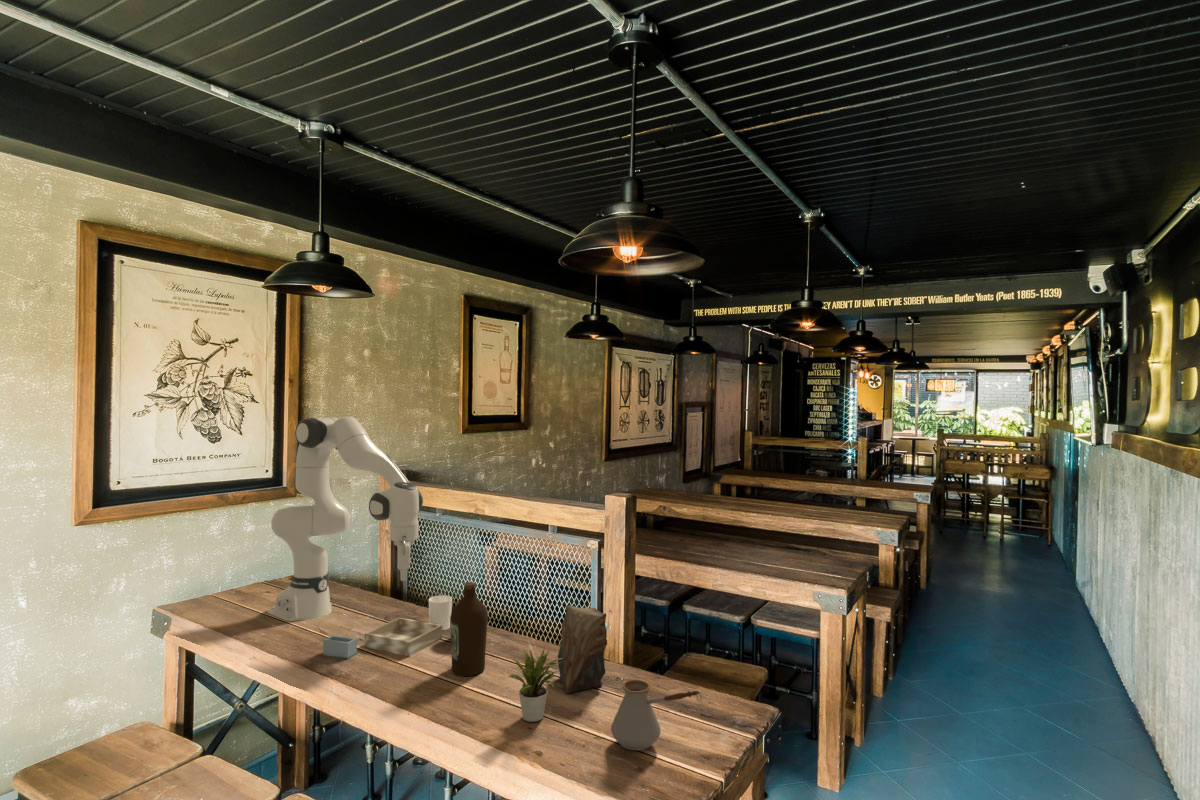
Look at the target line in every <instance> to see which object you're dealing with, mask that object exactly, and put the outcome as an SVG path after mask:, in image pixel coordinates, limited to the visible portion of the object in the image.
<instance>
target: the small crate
mask: <svg viewBox="0 0 1200 800" xmlns="http://www.w3.org/2000/svg"><path fill="white" fill-rule="evenodd" d="M322 644H323V645H322V656H327V657H333V658H339V659H345V660H349V659H350V658H352V657H354V656H356V655H357V654H358V638H355V637H349V636H348V637H347V636H341V635H334V634H332V635H330V636H328V637H326V638H324V639H323V641H322Z"/></svg>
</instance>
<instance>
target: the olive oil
mask: <svg viewBox="0 0 1200 800" xmlns="http://www.w3.org/2000/svg"><path fill="white" fill-rule="evenodd" d="M463 586H464V587H463V597H462V598H461V599H460V600H459V601H458V602H457V603H456V604H455V606H453V607H452V611H451V618H450V623H451V636H450V641H451V642H450V643H451V644H450V645H451V650H450V651H451V672H452V674H454V675H456V676H459V677H473V676H476V675H479V674H481V673H483V672H484V670H485V669H486V652H487V651H486V650H487V649H486V648H487V636H488V635H487V634H488V633H487V632H488V617H489V616H488V614H489V613H488V611H487V608H486V606H485V605H484V603H483V602H482V601H481V600H479V598H478V597H477V596H476V583H475V582H472V581H468V582H465V583H464V584H463Z"/></svg>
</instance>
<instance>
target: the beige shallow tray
mask: <svg viewBox="0 0 1200 800" xmlns="http://www.w3.org/2000/svg"><path fill="white" fill-rule="evenodd" d="M442 639H443V630H442V625H438V624H432V623H430V622H428V621H427V622H425V621H420V620H416V619H409V618H404V617H397V618H396V619H395V618H394V619H393V620H391V621H389V622H387V623H384V624H382V625H380V626H378V627H376V628H373V629H371V630H369V631H367V632H364V642H363V643H364V648H368V649H374V650H377V651H378V650H379V651H381V652H382V651H383V652H386V653H391V654H396V655H401V656H405V657H409V658H410V657H412V656H413V655H415V654H417V653H419V652H422V650H424V649H426V648H428V647H430V646H431V645H433V644H435V643H437V642H439V641H440V640H442Z"/></svg>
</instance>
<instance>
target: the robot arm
mask: <svg viewBox="0 0 1200 800" xmlns="http://www.w3.org/2000/svg"><path fill="white" fill-rule="evenodd" d="M294 435H295V439H296V441H297V443H298V447H297V452H296V460H295V488H296V491H297V492H298V493H299V494H301V495H304V496H306V497H309V498H311V499H312V500H313V501H314V504H312V505H298V506H297V505H295V506H289V507H284V508H281V509H278V510H277V511H276V512H275V513H274V514H273V516H272V518H271V522H270V523H271V526H270V527H271V529H272V532H273V533H274V535H275V536H276V537H278V538H280V539H281V540H282V541H284V542H285V543H286V544H287V545H288V547H289V548H290V551H291V553H292V559H293V575H292V576H288V577H287V578H288V579H287V581H290V583H289V585H288V587H286V588H285V589H284V590H283V591H281V592H280V593H278V594H277V595H276V597H275V601H274V606H273V607H272V608H269V609H268V610H267V614H269V615H271V616H274V617H277V618H279V619H282V620H284V621H287V622H295V621H306V620H307V619H308V620H314V619H320V618H323V617H326V616H328V615H329V613H330V614H331V613H332V612H331V611H333V610H332V603H331V598H330V597H331V596H330V587H329V582H330V573H329V571H328V569H329V567H328V563H329V562H328V561H329V560H328V559H329V556H328V555H329V553H328V552H327V550H326V549H325V548H324V547H322V546H321V545H317V544H315V543H314V542H313V543H312V542H311V541H310V537H319V536H321V537H323V536H332V535H335V534H340V533H343V532H345V531H346V530H347V529H348V528H349V525H350V523H351V514H350V512H349V509H348V508H347V507H346V506H345V505H343V504H341V502H339V501H338V499H336V497H335V496H334V494H333V492H332V490H331V486H330V485H331V483H330V454H331V451H333V450H334V449H335V450H337V451H338V453H339V455H340V457H341V459H342V461H343V462H344V463H345V465H347V466H348V467H350V468H351V469H354V470H358V471H365V472H370V473H373V474H377V475H379V476H381V477H382V478H383V479H384V480H385V481H386V482H387V484H388V485H389V488H387V489H384V490H382V491H378V492H375V493H373V494H372V496H371V497H370V499H369V501H368V511H369V513H370V515H371V517H372V518H374V520H376V521H382V522H383V521H388V520H389V521H390V524H389V540H390V541H391V542H392V541H393V544H394V546H397V564H396V565H397V569H398V570H399V571H400V572H399V574H400V581H401V582H403V581H405V582H406V581H407V575H408V574H407V573H408V570H410V567H411V546H412V545H414V544H415V541H416V540H418V539H419V529H420V528H419V526H420V525H419V519H418V518H419V517H418V515H419V512H420V511H421V510H422V507H423V505H424V499H423V495H422V493H421V492H420V491H419V489H418V487H417V486H416V484H413V483H412V482H410V481H409V480H408V478H407V477H406V475H405V474H404V473H403V471H402V470H401V469H400V468H399V467H398V465H397V464H396V462H395V461H394V459H392V457H390V456H389V455H388V454H387V453H385V452H384V451H382V450H381V448H379V447H378V446H377V445H376V444H375V443H374V442H373V441H372V439H371V437H370V436H369V434H368V433H367V431H366V429H365V428H364V427H363V426H362V424H361V423H360V422H359V421H358V420H357V419H356V418H355V417H352V416H342V417H333V416H327V417H307V418H304V419H301V420H300V421H299V422H298V423H297V425H296V427H295V432H294ZM325 615H326V616H325ZM322 616H323V617H322ZM319 617H320V618H319Z"/></svg>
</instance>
